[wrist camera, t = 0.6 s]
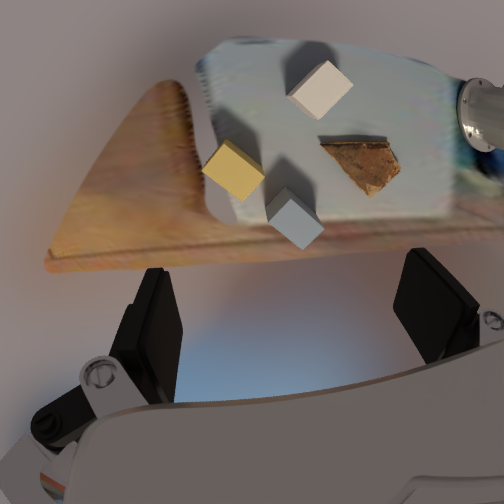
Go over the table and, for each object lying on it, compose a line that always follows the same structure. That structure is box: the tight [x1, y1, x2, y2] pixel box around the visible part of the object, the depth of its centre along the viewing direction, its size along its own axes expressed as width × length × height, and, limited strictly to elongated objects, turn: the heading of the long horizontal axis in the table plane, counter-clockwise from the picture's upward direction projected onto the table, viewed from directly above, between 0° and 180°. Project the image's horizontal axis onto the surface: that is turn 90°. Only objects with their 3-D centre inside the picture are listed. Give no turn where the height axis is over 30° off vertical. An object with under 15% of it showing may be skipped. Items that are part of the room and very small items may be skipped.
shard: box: [320, 142, 401, 197], centre depth 35 cm, size 11×8×2 cm
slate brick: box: [265, 187, 325, 250], centre depth 37 cm, size 6×4×5 cm, turn 49°
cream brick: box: [286, 61, 353, 120], centre depth 29 cm, size 6×4×5 cm, turn 139°
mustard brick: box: [202, 138, 265, 202], centre depth 34 cm, size 6×4×5 cm, turn 49°
